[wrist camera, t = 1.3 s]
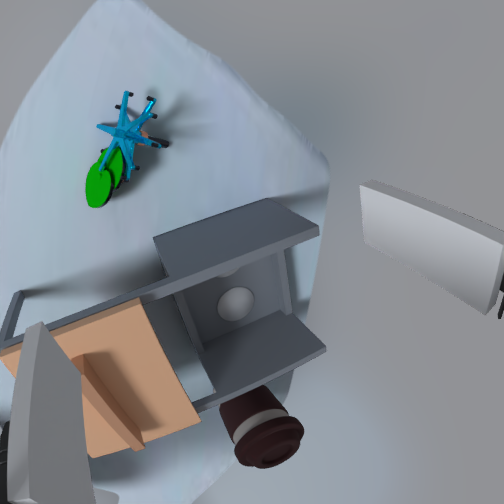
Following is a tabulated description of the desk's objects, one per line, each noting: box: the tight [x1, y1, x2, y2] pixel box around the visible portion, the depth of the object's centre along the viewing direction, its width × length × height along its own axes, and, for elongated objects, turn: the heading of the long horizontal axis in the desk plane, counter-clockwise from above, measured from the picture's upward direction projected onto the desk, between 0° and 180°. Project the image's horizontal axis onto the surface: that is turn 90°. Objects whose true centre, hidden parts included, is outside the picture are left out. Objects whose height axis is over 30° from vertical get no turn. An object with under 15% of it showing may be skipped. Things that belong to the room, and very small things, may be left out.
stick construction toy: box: [85, 91, 169, 208], centre depth 28 cm, size 12×7×8 cm
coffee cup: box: [213, 385, 304, 469], centre depth 42 cm, size 10×10×15 cm
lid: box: [0, 297, 202, 458], centre depth 25 cm, size 14×17×4 cm
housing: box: [0, 198, 326, 413], centre depth 33 cm, size 32×17×10 cm, turn 101°
